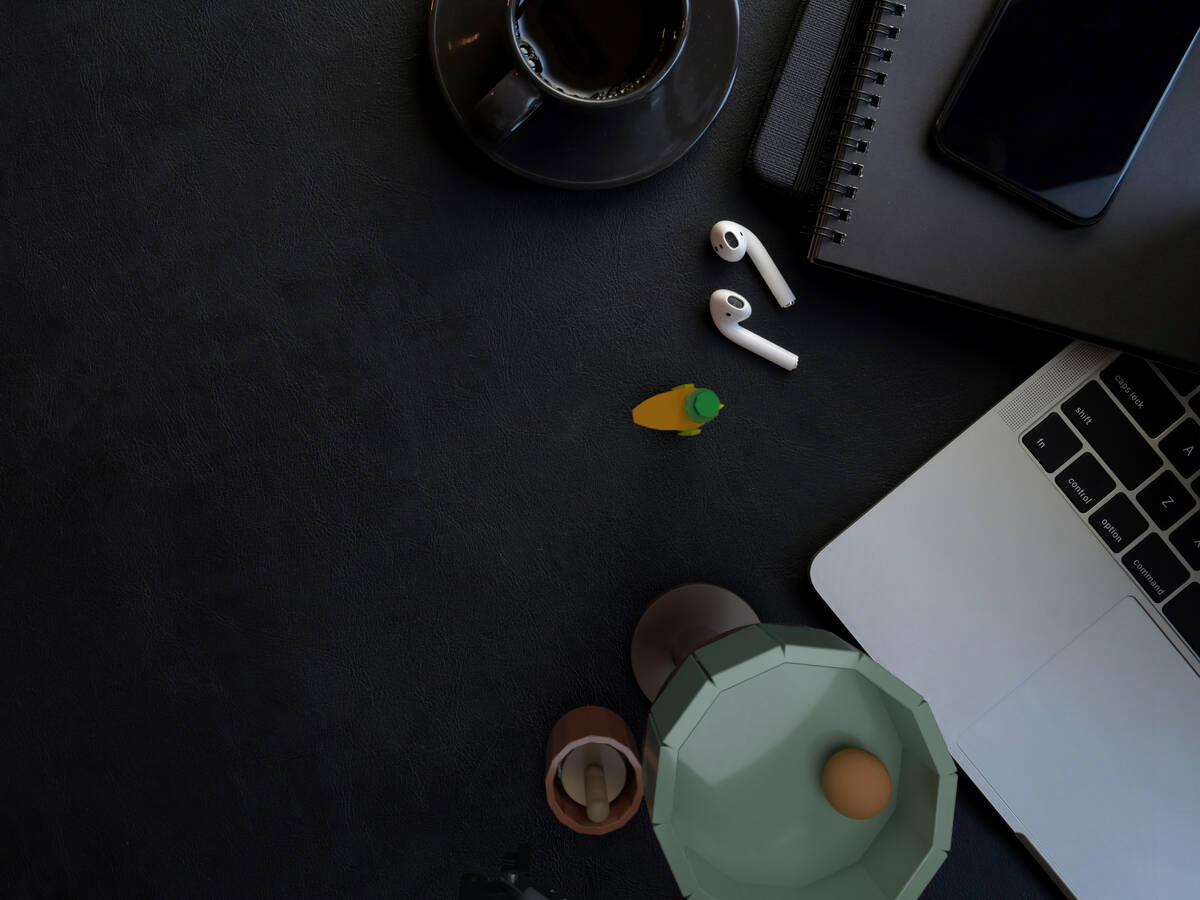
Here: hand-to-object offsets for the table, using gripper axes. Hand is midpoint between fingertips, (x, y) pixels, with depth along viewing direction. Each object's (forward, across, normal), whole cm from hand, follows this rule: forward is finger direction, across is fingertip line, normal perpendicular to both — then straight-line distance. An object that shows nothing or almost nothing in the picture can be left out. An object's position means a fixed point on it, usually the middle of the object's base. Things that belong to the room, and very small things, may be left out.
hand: (605, 868), depth 48 cm
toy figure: (+20, +3, +25) cm, 32 cm away
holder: (+20, 0, 0) cm, 20 cm away
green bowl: (-5, +7, +8) cm, 12 cm away
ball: (-8, +10, +8) cm, 15 cm away
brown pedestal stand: (+20, +7, +8) cm, 22 cm away
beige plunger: (+19, 0, 0) cm, 19 cm away
